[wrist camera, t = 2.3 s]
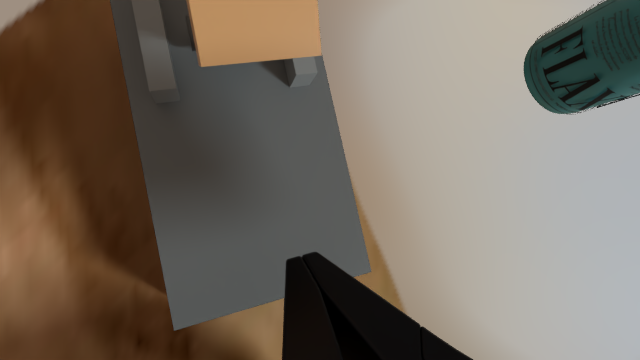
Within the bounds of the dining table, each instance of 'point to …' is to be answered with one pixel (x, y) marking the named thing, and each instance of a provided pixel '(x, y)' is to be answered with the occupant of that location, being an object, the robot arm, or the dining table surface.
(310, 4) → the lever
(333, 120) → the base
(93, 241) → the dining table surface
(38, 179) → the dining table surface
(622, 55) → the beverage bottle
